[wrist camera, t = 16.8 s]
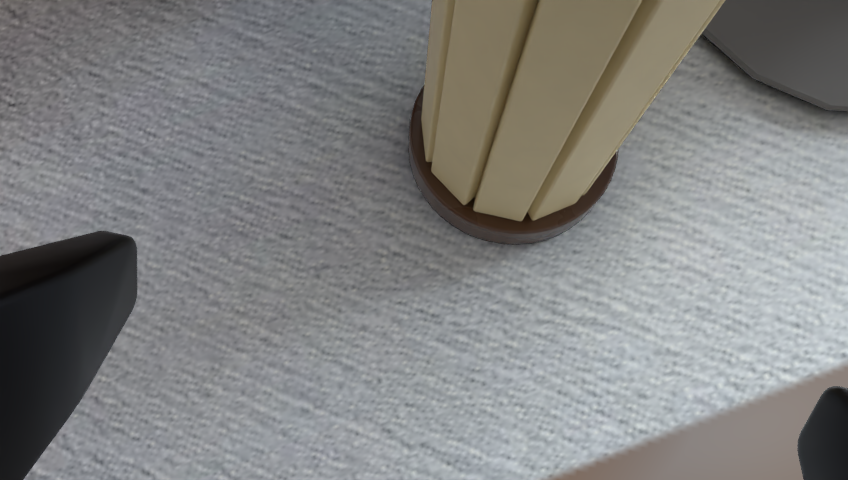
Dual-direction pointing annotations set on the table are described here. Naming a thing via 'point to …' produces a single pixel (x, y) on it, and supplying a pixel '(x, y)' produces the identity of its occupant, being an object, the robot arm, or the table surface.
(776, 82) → the cup
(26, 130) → the table surface
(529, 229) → the brown peg stand
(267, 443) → the table surface
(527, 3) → the tube
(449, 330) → the table surface
